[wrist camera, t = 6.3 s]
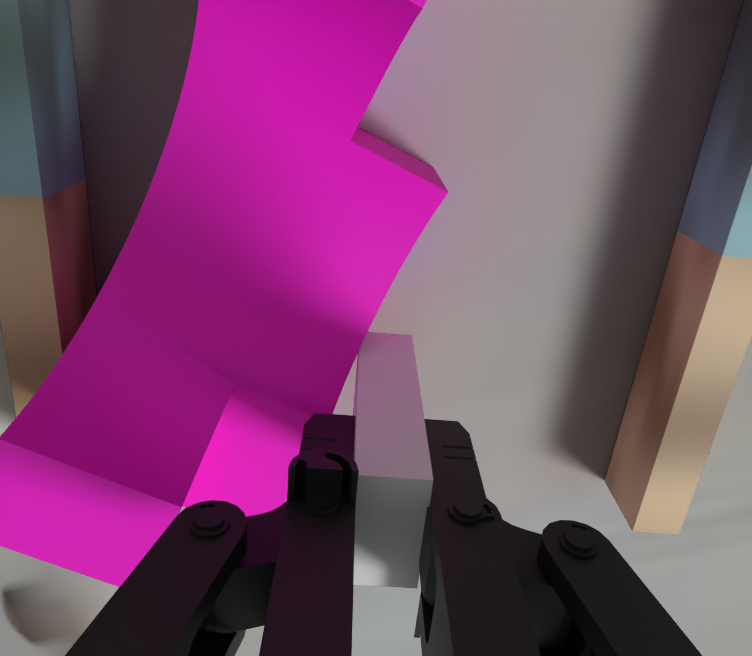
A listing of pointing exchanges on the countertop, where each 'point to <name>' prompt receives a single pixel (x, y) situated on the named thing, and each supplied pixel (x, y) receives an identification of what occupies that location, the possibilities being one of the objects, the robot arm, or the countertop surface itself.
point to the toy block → (225, 289)
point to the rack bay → (664, 338)
